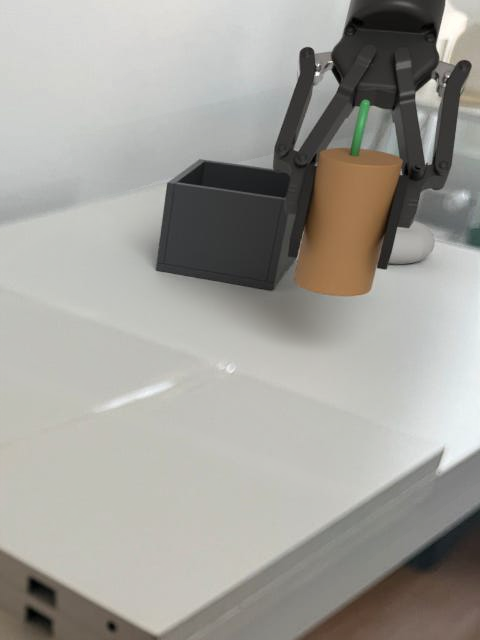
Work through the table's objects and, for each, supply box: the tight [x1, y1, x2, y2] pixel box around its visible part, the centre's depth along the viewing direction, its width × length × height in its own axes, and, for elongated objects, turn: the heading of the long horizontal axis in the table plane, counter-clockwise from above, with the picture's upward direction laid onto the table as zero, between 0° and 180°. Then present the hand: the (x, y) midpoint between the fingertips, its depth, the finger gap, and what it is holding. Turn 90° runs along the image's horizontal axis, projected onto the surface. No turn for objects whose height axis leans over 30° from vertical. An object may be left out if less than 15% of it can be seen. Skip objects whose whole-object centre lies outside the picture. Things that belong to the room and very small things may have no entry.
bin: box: [155, 158, 297, 291], centre depth 110 cm, size 13×13×9 cm
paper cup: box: [293, 100, 403, 297], centre depth 83 cm, size 6×6×14 cm
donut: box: [378, 220, 436, 265], centre depth 117 cm, size 10×4×10 cm
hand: (338, 253), depth 82 cm, fingers closed on paper cup, 6 cm apart
